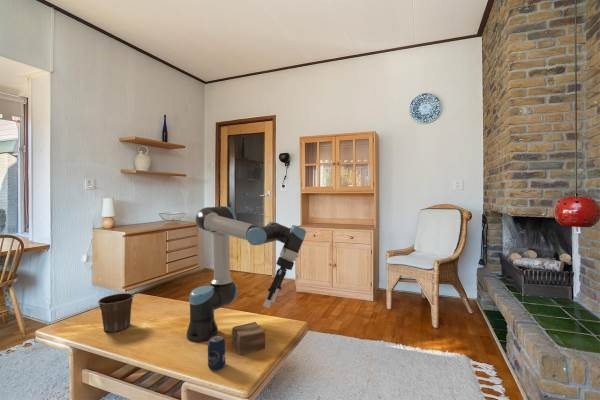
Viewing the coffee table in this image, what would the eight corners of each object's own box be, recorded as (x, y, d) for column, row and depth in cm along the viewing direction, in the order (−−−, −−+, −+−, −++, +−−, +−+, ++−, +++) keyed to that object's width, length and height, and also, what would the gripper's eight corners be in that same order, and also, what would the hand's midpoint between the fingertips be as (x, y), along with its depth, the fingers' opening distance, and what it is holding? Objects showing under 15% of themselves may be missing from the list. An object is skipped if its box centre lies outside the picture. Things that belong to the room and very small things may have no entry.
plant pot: (96, 327, 161) (96, 297, 161) (130, 318, 172) (129, 290, 172) (101, 337, 149) (100, 306, 149) (137, 328, 160) (136, 298, 159)
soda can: (204, 370, 121) (204, 341, 121) (213, 361, 128) (212, 333, 127) (220, 372, 119) (220, 343, 119) (228, 363, 126) (227, 335, 126)
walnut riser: (232, 343, 143) (232, 326, 143) (256, 337, 149) (255, 321, 148) (239, 355, 132) (239, 337, 132) (265, 348, 138) (264, 331, 138)
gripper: (292, 263, 122) (272, 313, 119) (296, 261, 147) (280, 302, 144) (275, 256, 123) (255, 305, 120) (282, 255, 148) (265, 296, 145)
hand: (268, 304), depth 132 cm, fingers open, 13 cm apart
